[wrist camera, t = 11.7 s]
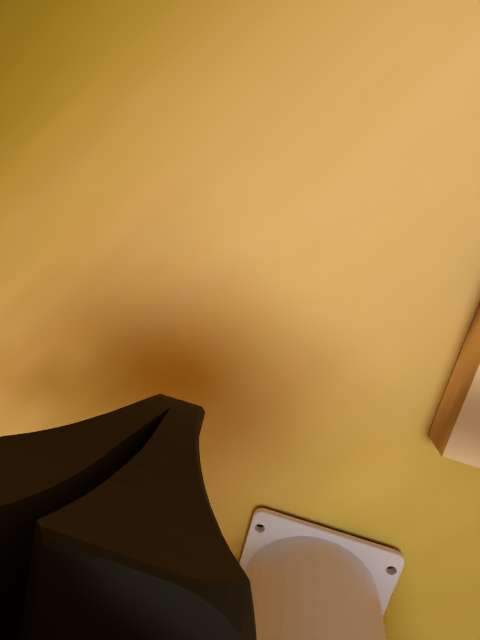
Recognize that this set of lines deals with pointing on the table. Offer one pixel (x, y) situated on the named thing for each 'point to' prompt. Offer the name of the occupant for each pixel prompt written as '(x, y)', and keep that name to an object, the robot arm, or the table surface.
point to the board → (461, 405)
